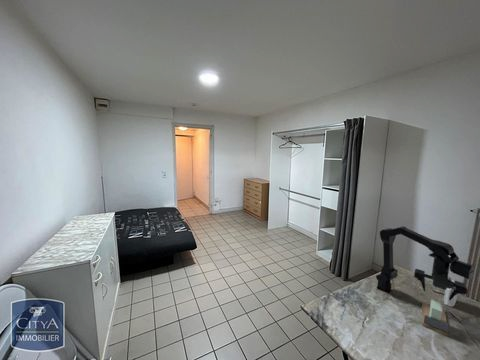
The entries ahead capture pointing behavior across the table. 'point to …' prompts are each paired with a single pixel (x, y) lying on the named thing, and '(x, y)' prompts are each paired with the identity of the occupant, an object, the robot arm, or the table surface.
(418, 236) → the robot arm
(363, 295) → the table surface
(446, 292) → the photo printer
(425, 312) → the shelf board
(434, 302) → the book
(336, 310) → the table surface
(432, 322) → the bookend
